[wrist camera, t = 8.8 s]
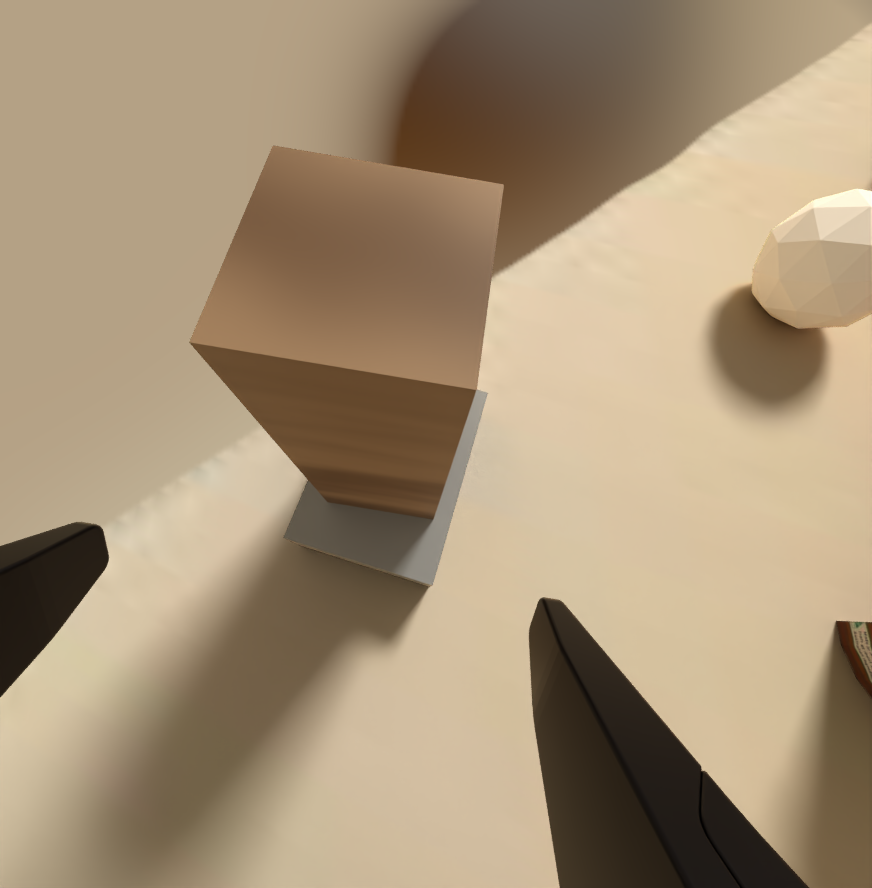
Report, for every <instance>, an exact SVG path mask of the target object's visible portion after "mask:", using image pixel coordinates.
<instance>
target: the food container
mask: <svg viewBox="0 0 872 888" xmlns="http://www.w3.org/2000/svg"><path fill="white" fill-rule="evenodd" d="M836 622H837V627H838V632H839V636H840V641H841V645H842V648H843V650H844V652H845V654H846V656H847V659H848V661H849V663H850V665H851V667H852V670H853V672H854V674H855V676H856V678H857V680H858V681H859V682H860V684H861V685H862V686H863V688H864V689H865V690H866V692H867V693H868V694H869V696H870V697H871V698H872V622H850V621H836Z"/></svg>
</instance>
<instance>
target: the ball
mask: <svg viewBox="0 0 872 888" xmlns="http://www.w3.org/2000/svg"><path fill="white" fill-rule="evenodd" d="M752 294H753V295H754V296H755V298H756V299H757V300H758V302H759V303H760V304H761V306H762V307H763V308H764V309H765V310H766V311H767V312H768V313H769V314H770V315H771V316H772V317H774V318H776V319H778V320H780V321H782V322H785V323H787V324H789V325H791V326H793V327H795V328H797V329H801V328H825V327H847V326H849V325H851V324H853V323H855V322H857V321H859V320H861V319H863V318H864V317H866V316H868V315H870V314H872V191H868V190H862V189H854V190H850V191H846V192H842V193H838V194H835V195H831V196H827V197H823V198H819V199H816V200H813V201H812V202H810V203H809V204H807V205H806V206H804V207H803V208H802V209H800V210H799V211H797V212H796V213H794V214H793V215H792V216H790V217H789V218H787V219H786V220H784V221H783V222H782V223H780V224H779V225H777V226H776V227H774V228H773V229H772V230H771V231H770V233H769V235H768V237H767V239H766V241H765V243H764V245H763V247H762V249H761V251H760V253H759V255H758V257H757V259H756V262H755V265H754V268H753V274H752Z"/></svg>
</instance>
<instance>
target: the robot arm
mask: <svg viewBox="0 0 872 888" xmlns="http://www.w3.org/2000/svg"><path fill="white" fill-rule="evenodd" d="M108 561H109V554H108V550H107V545H106V541H105V536H104V531H103V529H102V528H101V527H100V526H99V525H96V524H91V523H84V522H75V523H71V524H68V525H65V526H62V527H59V528H56V529H52V530H49V531H46V532H43V533H40V534H37V535H34V536H31V537H27V538H24V539H21V540H18V541H15V542H12V543H9V544H5V545H2V546H0V697H1V696H2V695H3V694H4V693H5V692H6V691H7V689H8V688H9V687H10V686H11V685H12V684H13V683H14V682H15V680H16V679H17V678H18V677H19V676H20V675H21V674H22V673H23V672H24V670H25V669H26V668H27V667H28V666H29V665H30V664H31V663H32V661H33V660H34V659H35V658H36V657H37V656H38V655H39V654H40V652H41V651H42V650H43V649H44V648H45V647H46V646H47V644H48V643H49V642H50V641H51V640H52V639H53V637H54V636H55V635H56V634H57V632H58V631H59V630H60V628H61V627H62V626H63V625H64V623H65V622H66V621H67V619H68V618H69V617H70V615H71V614H72V613H73V611H74V610H75V609H76V607H77V606H78V605H79V603H80V602H81V601H82V599H83V598H84V597H85V595H86V594H87V593H88V591H89V590H90V589H91V587H92V586H93V585H94V583H95V582H96V581H97V579H98V578H99V577H100V575H101V574H102V573H103V571H104V570H105V568H106V566H107V564H108ZM529 650H530V669H531V688H532V706H533V718H534V726H535V733H536V739H537V745H538V752H539V758H540V765H541V771H542V777H543V784H544V790H545V796H546V803H547V809H548V816H549V822H550V828H551V835H552V841H553V847H554V854H555V860H556V866H557V873H558V879H559V886H560V888H809V887H808V886H807V885H806V884H805V883H804V882H803V881H802V880H801V878H800V877H799V876H798V875H797V874H796V873H795V872H794V871H793V870H792V869H791V868H790V866H789V865H788V864H787V863H786V862H785V861H784V860H783V859H782V858H781V857H780V856H779V855H778V853H777V852H776V851H775V850H774V849H773V848H772V847H771V846H770V845H769V844H768V843H767V842H766V840H765V839H764V838H763V837H762V836H761V835H760V834H759V833H758V832H757V830H756V829H755V828H754V827H753V826H752V825H751V824H750V822H749V821H748V820H747V819H746V818H745V817H744V815H743V814H742V813H741V812H740V811H739V810H738V809H737V807H736V806H735V805H734V804H733V803H732V802H731V801H730V799H729V798H728V797H727V796H726V795H725V794H724V792H723V791H722V790H721V789H720V788H719V786H718V785H717V784H716V783H715V782H714V781H713V779H712V778H711V777H710V776H709V775H708V773H707V772H705V771H701V770H702V769H701V766H700V764H699V763H698V762H697V761H696V759H695V758H694V757H693V756H692V755H691V754H690V752H689V751H688V750H687V749H686V748H685V746H684V745H683V744H682V743H681V742H680V741H679V739H678V738H677V737H676V736H675V735H674V733H673V732H672V731H671V730H670V729H669V727H668V726H667V725H666V724H665V723H664V722H663V720H662V719H661V718H660V717H659V716H658V714H657V713H656V712H655V711H654V710H653V708H652V707H651V706H650V705H649V704H648V703H647V701H646V700H645V699H644V698H643V697H642V695H641V694H640V693H639V692H638V691H637V690H636V688H635V687H634V686H633V685H632V684H631V682H630V681H629V680H628V679H627V678H626V676H625V675H624V674H623V673H622V672H621V671H620V669H619V668H618V667H617V666H616V665H615V663H614V662H613V661H612V660H611V659H610V658H609V656H608V655H607V654H606V653H605V652H604V650H603V649H602V648H601V647H600V646H599V644H598V643H597V642H596V641H595V640H594V639H593V637H592V636H591V635H590V634H589V633H588V631H587V630H586V629H585V628H584V627H583V626H582V624H581V623H580V622H579V621H578V620H577V618H576V617H575V616H574V615H573V614H572V612H571V611H570V610H569V609H568V608H567V607H566V605H565V604H564V603H563V602H562V601H560V600H557V599H551V598H545V597H543V598H541V599H540V600H539V602H538V604H537V607H536V610H535V613H534V616H533V619H532V622H531V625H530V629H529Z"/></svg>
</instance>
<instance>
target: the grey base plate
mask: <svg viewBox="0 0 872 888" xmlns="http://www.w3.org/2000/svg"><path fill="white" fill-rule="evenodd" d="M487 394H488V393H487V392H483V391H480V390H476V393H475V396H474V399H473V402H472V405H471V408H470V411H469V414H468V417H467V420H466V423H465V426H464V429H463V432H462V435H461V438H460V441H459V444H458V447H457V450H456V453H455V456H454V459H453V462H452V465H451V468H450V472H449V475H448V478H447V481H446V484H445V487H444V490H443V493H442V496H441V499H440V502H439V505H438V508H437V511H436V514H435V517H434V520H433V519H427V518H421V517H415V516H409V515H403V514H397V513H390V512H384V511H378V510H372V509H366V508H360V507H354V506H348V505H342V504H336V503H329V502H327V501H326V500H325V499H324V498H323V496H322V495H321V494H320V493H319V492H318V491H317V490H316V488H315V487H314V486H313V485H312V484H311V483H310V481H309V480H308V481H307V484H306V486H305V489H304V491H303V493H302V496H301V498H300V500H299V503H298V505H297V507H296V510H295V512H294V514H293V517H292V519H291V521H290V524H289V526H288V528H287V531H286V533H285V535H284V538H285V539H287V540H289V541H291V542H294V543H296V544H298V545H300V546H303V547H306V548H310V549H313V550H316V551H319V552H322V553H325V554H328V555H331V556H335V557H338V558H341V559H344V560H347V561H350V562H353V563H356V564H360V565H363V566H366V567H369V568H372V569H375V570H378V571H381V572H385V573H388V574H391V575H394V576H397V577H400V578H403V579H406V580H410V581H413V582H416V583H419V584H422V585H425V586H428V587H430V586H432V585H433V582H434V578H435V575H436V571H437V568H438V564H439V561H440V557H441V554H442V550H443V547H444V544H445V540H446V537H447V533H448V530H449V526H450V523H451V519H452V516H453V512H454V509H455V505H456V502H457V498H458V495H459V491H460V488H461V484H462V481H463V477H464V474H465V470H466V467H467V463H468V460H469V456H470V453H471V449H472V446H473V443H474V439H475V436H476V432H477V429H478V425H479V422H480V418H481V415H482V411H483V408H484V404H485V401H486V397H487Z"/></svg>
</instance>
